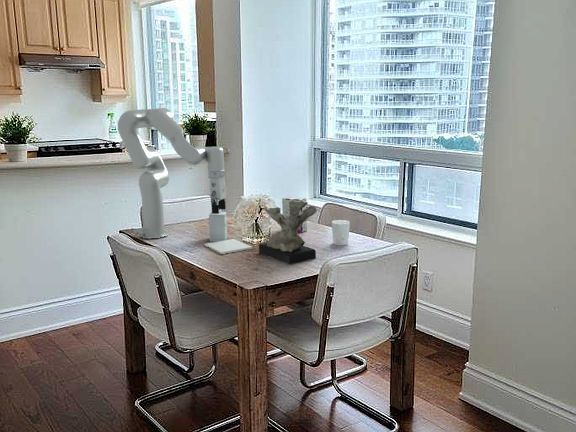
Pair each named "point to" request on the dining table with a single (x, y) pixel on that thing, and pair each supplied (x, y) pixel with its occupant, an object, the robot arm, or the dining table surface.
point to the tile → (228, 246)
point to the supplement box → (218, 226)
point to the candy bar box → (286, 211)
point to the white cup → (340, 232)
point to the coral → (289, 235)
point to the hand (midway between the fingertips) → (218, 211)
